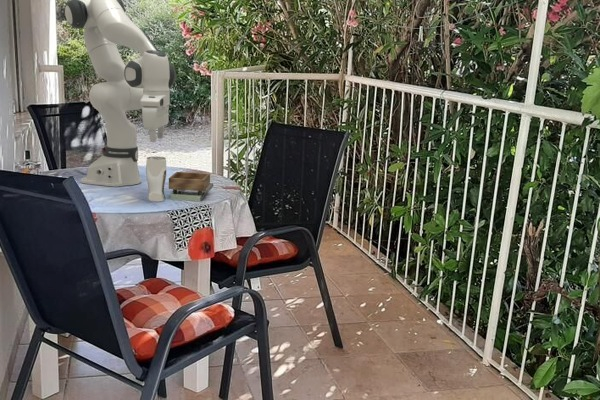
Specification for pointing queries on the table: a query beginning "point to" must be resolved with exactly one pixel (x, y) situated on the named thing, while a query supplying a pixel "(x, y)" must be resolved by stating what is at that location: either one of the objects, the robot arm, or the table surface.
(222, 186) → the table surface
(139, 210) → the table surface
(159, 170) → the beer glass
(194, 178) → the tray
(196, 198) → the track
